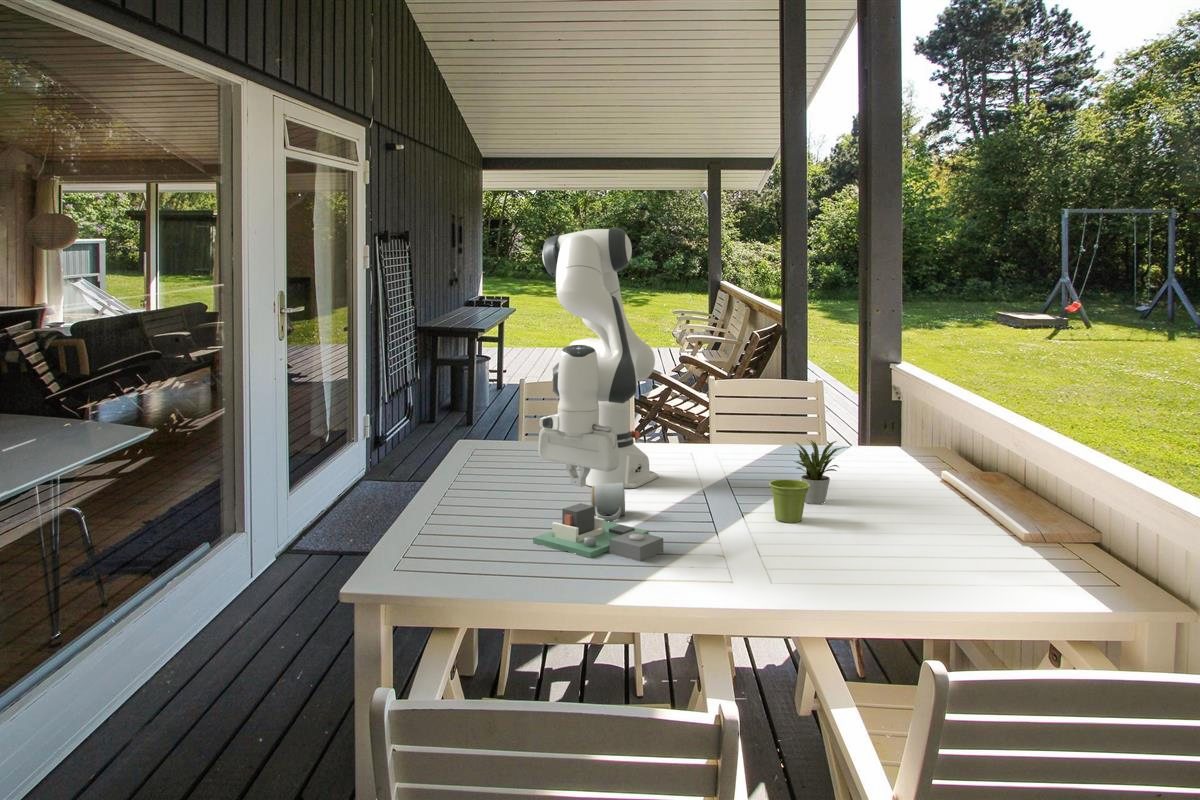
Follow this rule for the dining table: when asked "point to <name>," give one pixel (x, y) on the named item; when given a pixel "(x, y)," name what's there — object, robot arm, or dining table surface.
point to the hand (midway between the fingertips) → (578, 485)
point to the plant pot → (789, 499)
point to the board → (584, 537)
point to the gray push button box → (636, 545)
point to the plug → (579, 517)
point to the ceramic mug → (608, 500)
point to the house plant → (816, 472)
